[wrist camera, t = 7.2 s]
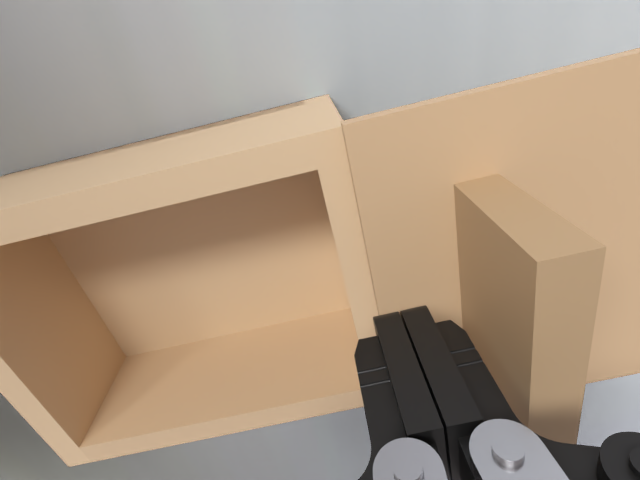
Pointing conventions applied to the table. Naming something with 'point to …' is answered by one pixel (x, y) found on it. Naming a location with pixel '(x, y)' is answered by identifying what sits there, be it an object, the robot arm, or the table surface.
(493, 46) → the table surface
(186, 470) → the table surface
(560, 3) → the table surface
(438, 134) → the lid
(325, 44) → the table surface
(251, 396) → the open wooden box
